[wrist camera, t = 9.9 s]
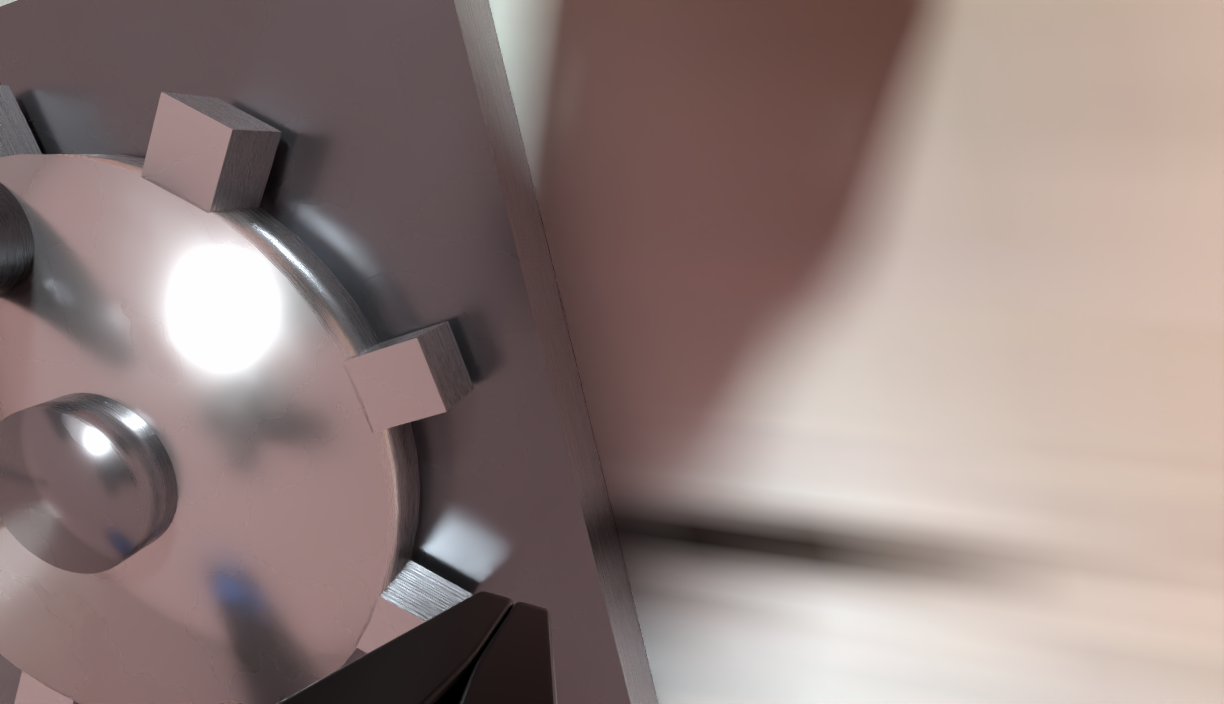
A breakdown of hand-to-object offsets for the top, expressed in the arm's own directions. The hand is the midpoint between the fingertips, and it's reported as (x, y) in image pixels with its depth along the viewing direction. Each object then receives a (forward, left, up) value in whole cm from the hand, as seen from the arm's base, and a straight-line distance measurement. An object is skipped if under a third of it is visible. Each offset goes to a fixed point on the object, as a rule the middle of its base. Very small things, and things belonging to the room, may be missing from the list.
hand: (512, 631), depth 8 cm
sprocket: (0, -14, -9) cm, 17 cm away
